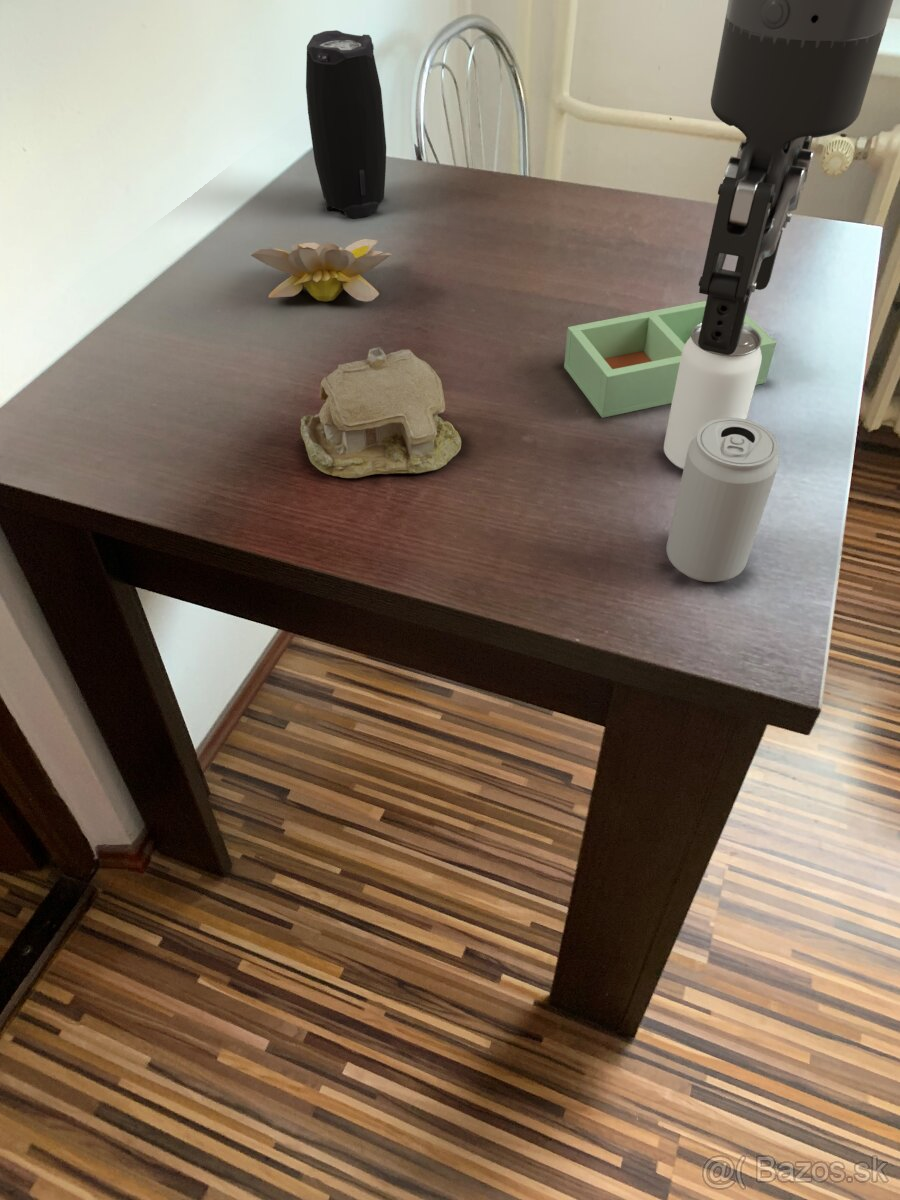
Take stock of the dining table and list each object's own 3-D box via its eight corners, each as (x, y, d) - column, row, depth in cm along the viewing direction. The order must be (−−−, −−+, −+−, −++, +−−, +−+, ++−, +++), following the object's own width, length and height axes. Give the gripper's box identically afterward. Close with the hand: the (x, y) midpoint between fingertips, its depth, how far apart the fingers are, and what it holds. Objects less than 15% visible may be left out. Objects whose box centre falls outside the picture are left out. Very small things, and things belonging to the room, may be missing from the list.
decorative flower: (407, 251, 105) (392, 175, 96) (395, 320, 100) (379, 245, 91) (286, 256, 107) (261, 182, 99) (268, 323, 102) (240, 250, 93)
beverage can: (749, 542, 73) (787, 422, 64) (740, 596, 69) (779, 475, 60) (671, 526, 74) (698, 406, 65) (658, 578, 70) (685, 457, 61)
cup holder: (765, 383, 88) (776, 342, 85) (602, 418, 85) (607, 376, 81) (717, 336, 94) (726, 296, 91) (563, 367, 91) (567, 326, 88)
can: (741, 476, 79) (775, 357, 70) (668, 477, 79) (693, 358, 70) (727, 432, 83) (757, 315, 74) (657, 433, 83) (679, 316, 74)
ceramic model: (433, 398, 88) (430, 304, 80) (474, 463, 80) (475, 368, 73) (295, 429, 85) (278, 335, 77) (325, 501, 77) (309, 404, 70)
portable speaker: (323, 193, 121) (303, 29, 107) (391, 192, 121) (380, 27, 107) (317, 221, 115) (295, 50, 101) (389, 219, 115) (377, 48, 101)
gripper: (864, 63, 37) (770, 389, 49) (906, -18, 46) (817, 277, 58) (690, 42, 40) (640, 359, 52) (761, -31, 48) (704, 255, 60)
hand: (734, 315), depth 55 cm, fingers open, 8 cm apart
